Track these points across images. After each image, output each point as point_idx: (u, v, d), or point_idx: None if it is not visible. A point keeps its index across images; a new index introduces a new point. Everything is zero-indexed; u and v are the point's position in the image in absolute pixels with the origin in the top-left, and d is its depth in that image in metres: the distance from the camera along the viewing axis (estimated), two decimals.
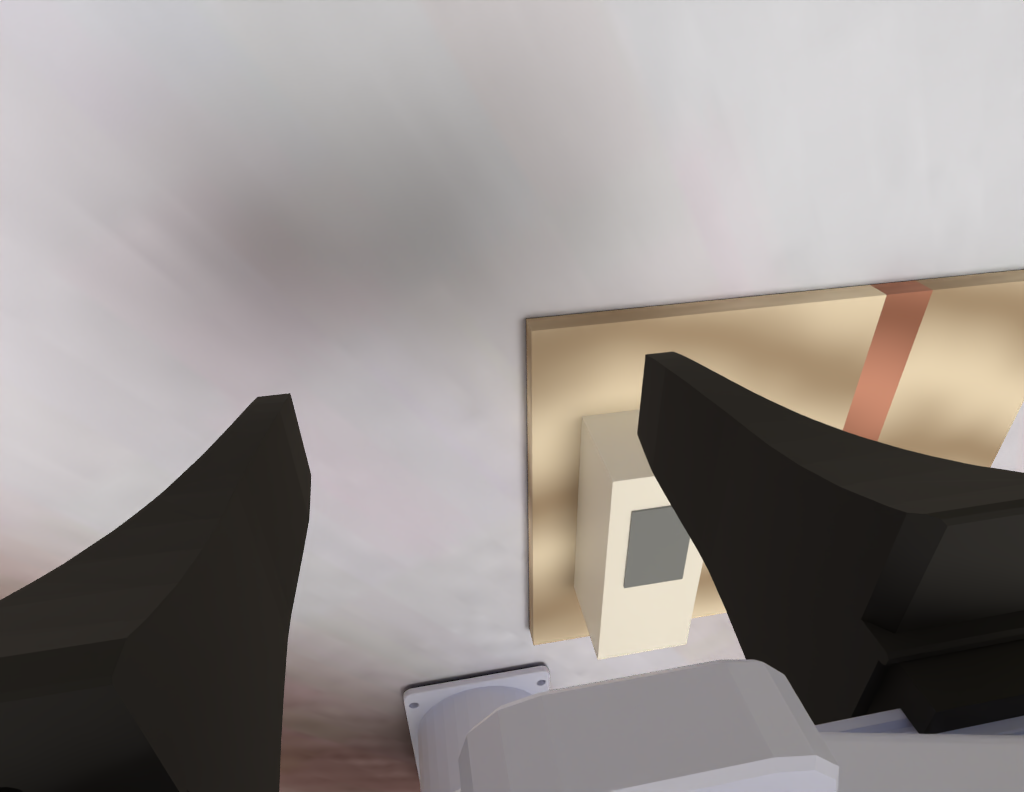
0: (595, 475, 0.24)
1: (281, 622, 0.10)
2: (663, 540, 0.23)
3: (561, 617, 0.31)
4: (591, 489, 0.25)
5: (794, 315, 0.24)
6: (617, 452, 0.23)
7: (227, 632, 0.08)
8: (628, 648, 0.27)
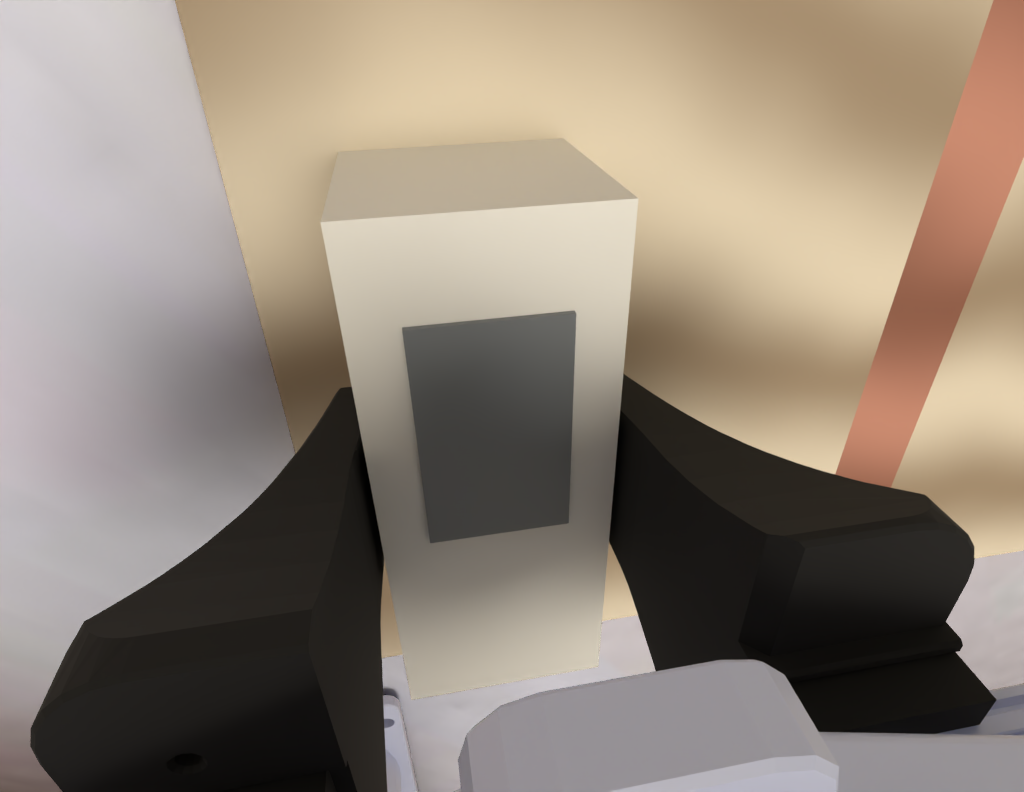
0: None
1: (376, 606, 0.10)
2: (505, 419, 0.10)
3: (393, 613, 0.17)
4: None
5: None
6: (376, 185, 0.09)
7: (354, 612, 0.08)
8: (474, 676, 0.13)
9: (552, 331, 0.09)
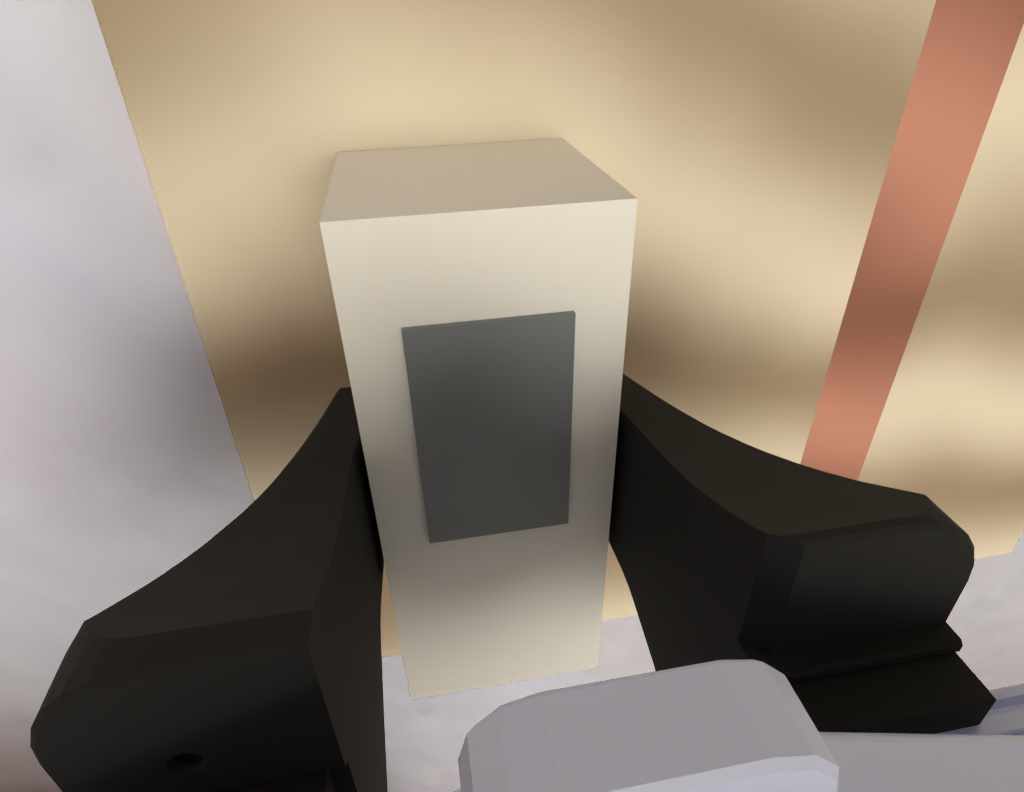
0: None
1: (376, 607, 0.10)
2: (505, 419, 0.10)
3: None
4: None
5: None
6: (375, 186, 0.09)
7: (354, 612, 0.08)
8: (474, 677, 0.13)
9: (551, 331, 0.09)
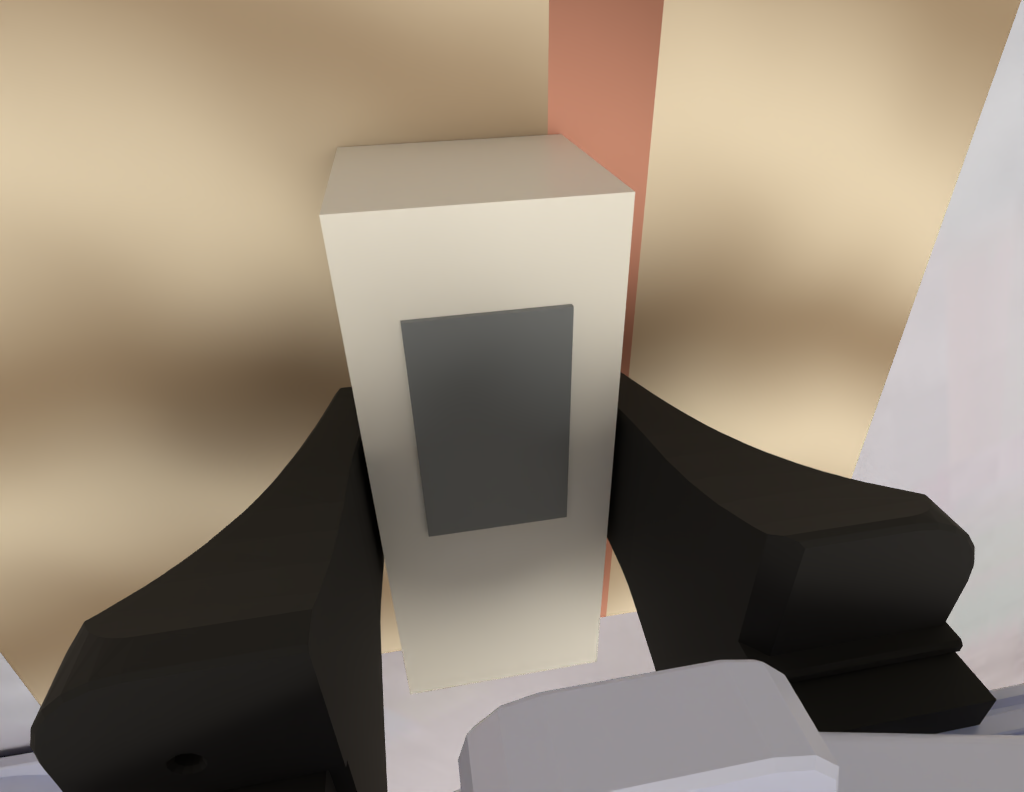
0: None
1: (376, 606, 0.10)
2: (504, 413, 0.10)
3: None
4: None
5: None
6: (374, 180, 0.09)
7: (354, 612, 0.08)
8: (473, 671, 0.13)
9: (549, 324, 0.09)
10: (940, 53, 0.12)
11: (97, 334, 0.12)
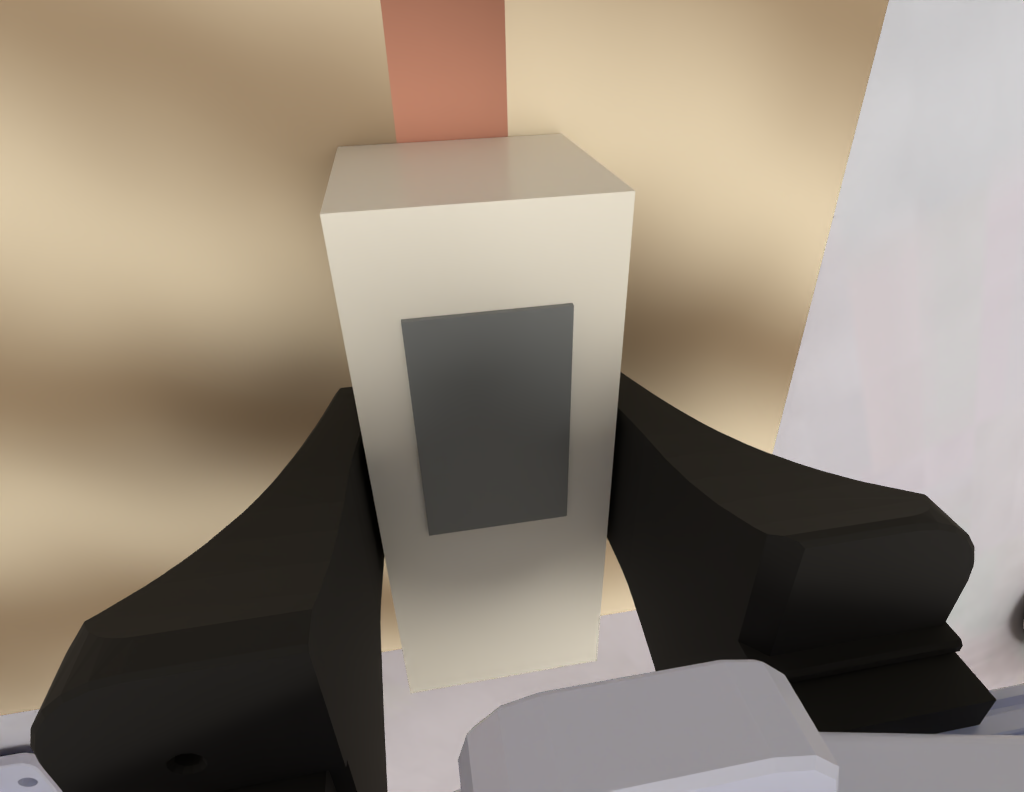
0: None
1: (376, 606, 0.10)
2: (504, 411, 0.10)
3: None
4: None
5: None
6: (375, 179, 0.09)
7: (354, 612, 0.08)
8: (473, 670, 0.13)
9: (549, 323, 0.09)
10: (808, 56, 0.12)
11: None
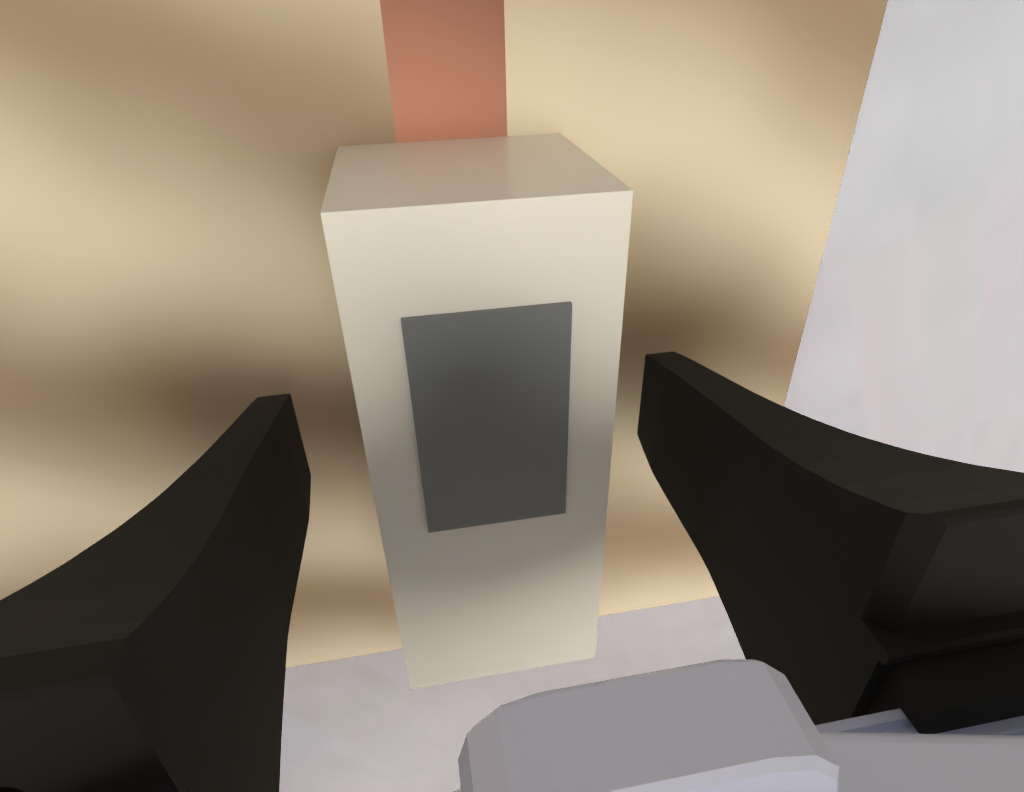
0: None
1: (281, 621, 0.10)
2: (503, 409, 0.10)
3: None
4: None
5: None
6: (375, 178, 0.09)
7: (227, 632, 0.08)
8: (473, 667, 0.13)
9: (548, 322, 0.09)
10: (807, 56, 0.12)
11: None
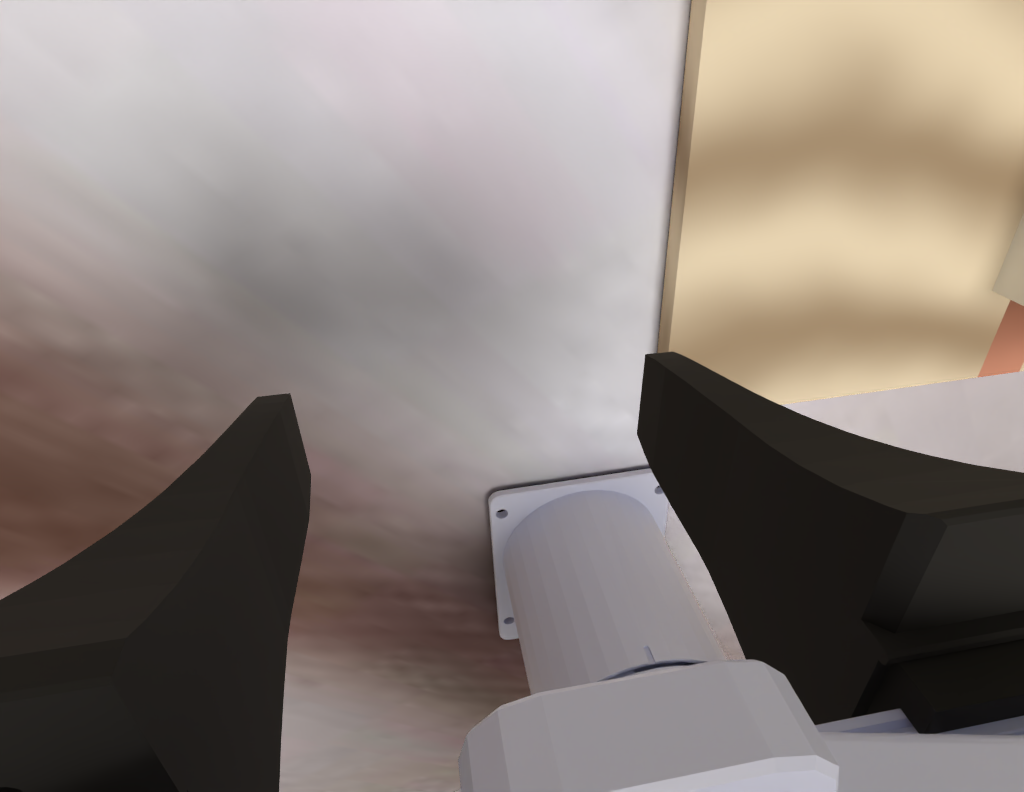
0: None
1: (281, 621, 0.10)
2: None
3: None
4: None
5: None
6: None
7: (227, 632, 0.08)
8: None
9: None
10: None
11: (853, 110, 0.20)
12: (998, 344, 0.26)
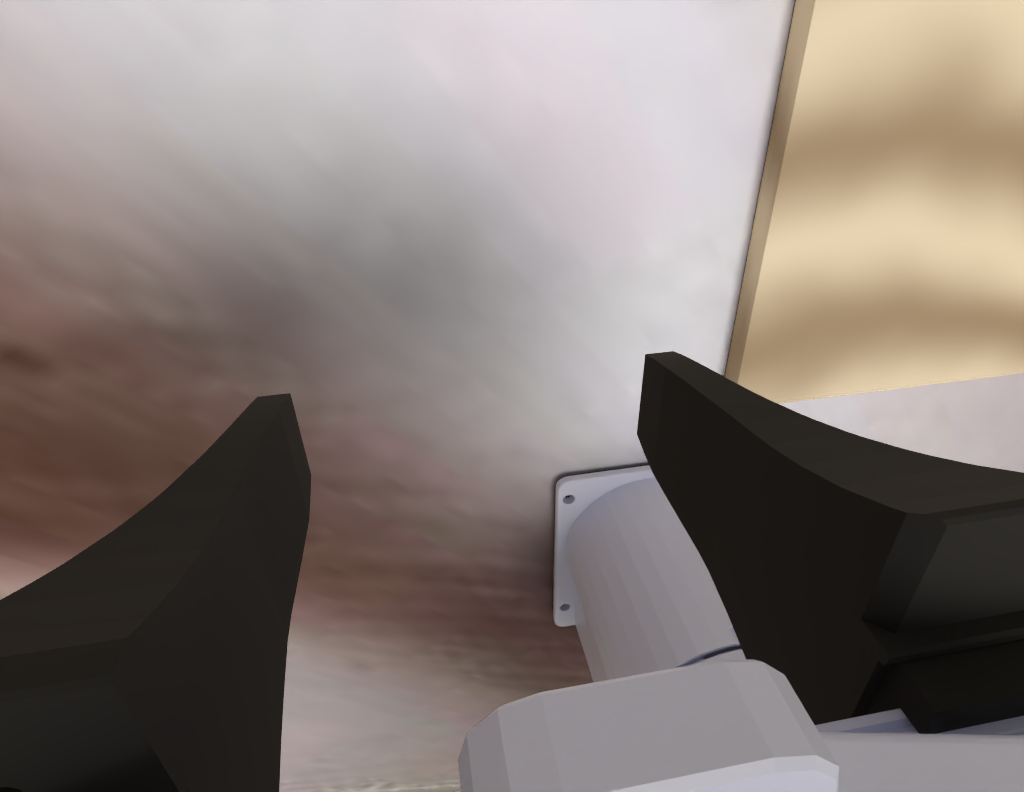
0: None
1: (280, 621, 0.10)
2: None
3: (775, 365, 0.24)
4: None
5: None
6: None
7: (227, 632, 0.08)
8: None
9: None
10: None
11: (946, 102, 0.20)
12: None
